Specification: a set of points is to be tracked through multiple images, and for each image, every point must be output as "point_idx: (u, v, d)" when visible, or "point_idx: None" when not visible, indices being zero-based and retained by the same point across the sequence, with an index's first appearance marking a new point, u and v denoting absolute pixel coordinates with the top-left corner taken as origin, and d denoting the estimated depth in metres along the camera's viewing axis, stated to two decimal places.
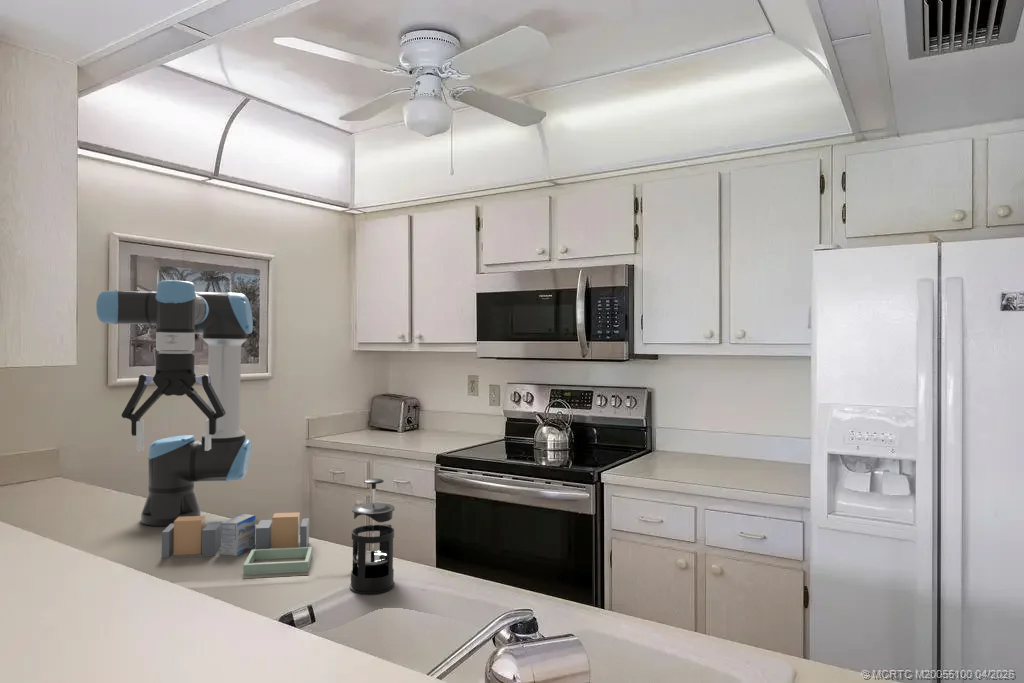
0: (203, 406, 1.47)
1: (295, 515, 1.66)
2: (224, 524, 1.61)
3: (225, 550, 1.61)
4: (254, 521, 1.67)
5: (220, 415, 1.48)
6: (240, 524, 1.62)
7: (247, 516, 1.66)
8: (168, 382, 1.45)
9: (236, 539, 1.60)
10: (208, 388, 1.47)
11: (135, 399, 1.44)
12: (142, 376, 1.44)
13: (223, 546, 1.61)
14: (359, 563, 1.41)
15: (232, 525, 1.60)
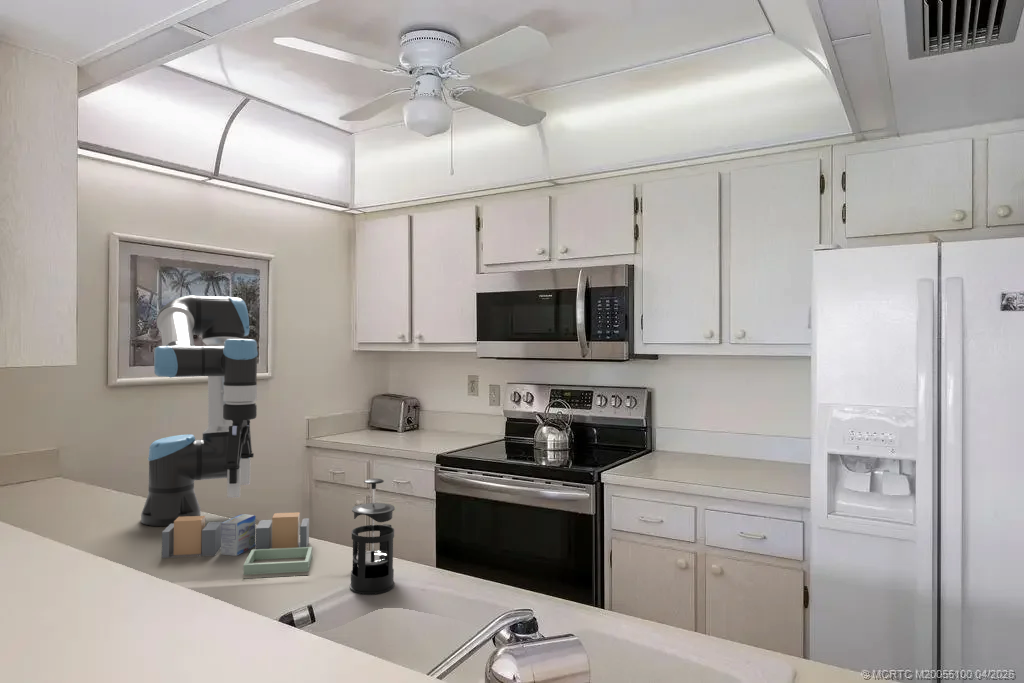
0: None
1: (295, 515, 1.66)
2: (224, 524, 1.61)
3: (225, 550, 1.61)
4: (254, 521, 1.67)
5: None
6: (240, 524, 1.62)
7: (247, 516, 1.66)
8: None
9: (236, 539, 1.60)
10: None
11: None
12: None
13: (223, 546, 1.61)
14: (359, 563, 1.41)
15: (232, 525, 1.60)
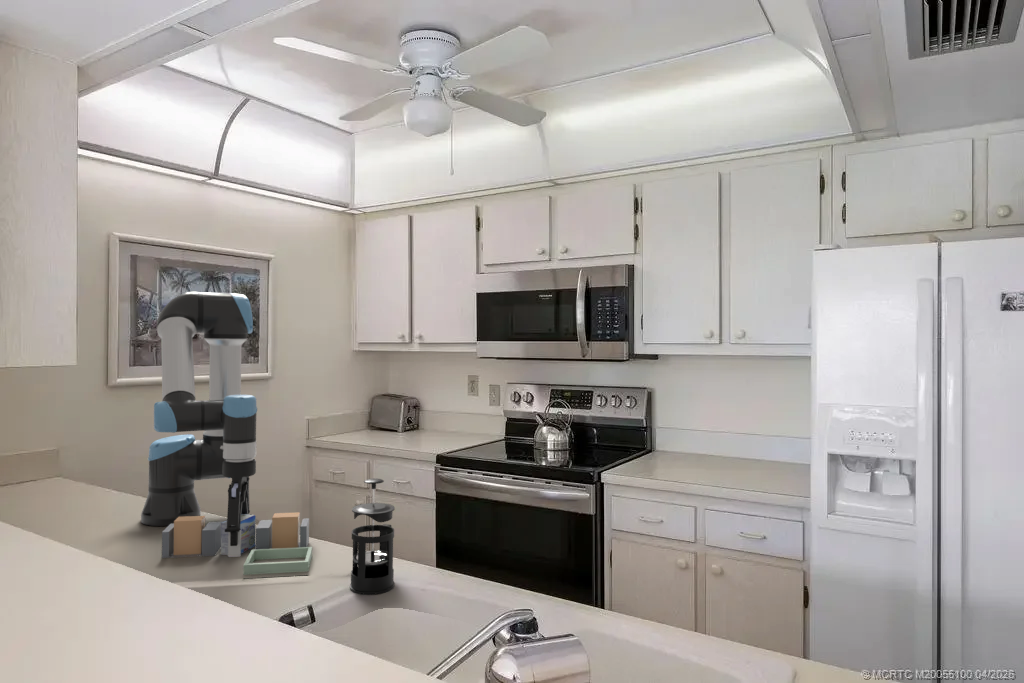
0: None
1: (295, 515, 1.66)
2: (224, 524, 1.61)
3: (225, 549, 1.61)
4: (254, 521, 1.67)
5: None
6: (240, 524, 1.62)
7: (247, 516, 1.66)
8: (231, 484, 1.65)
9: None
10: (228, 501, 1.58)
11: None
12: None
13: (223, 546, 1.61)
14: (359, 563, 1.41)
15: (232, 525, 1.60)
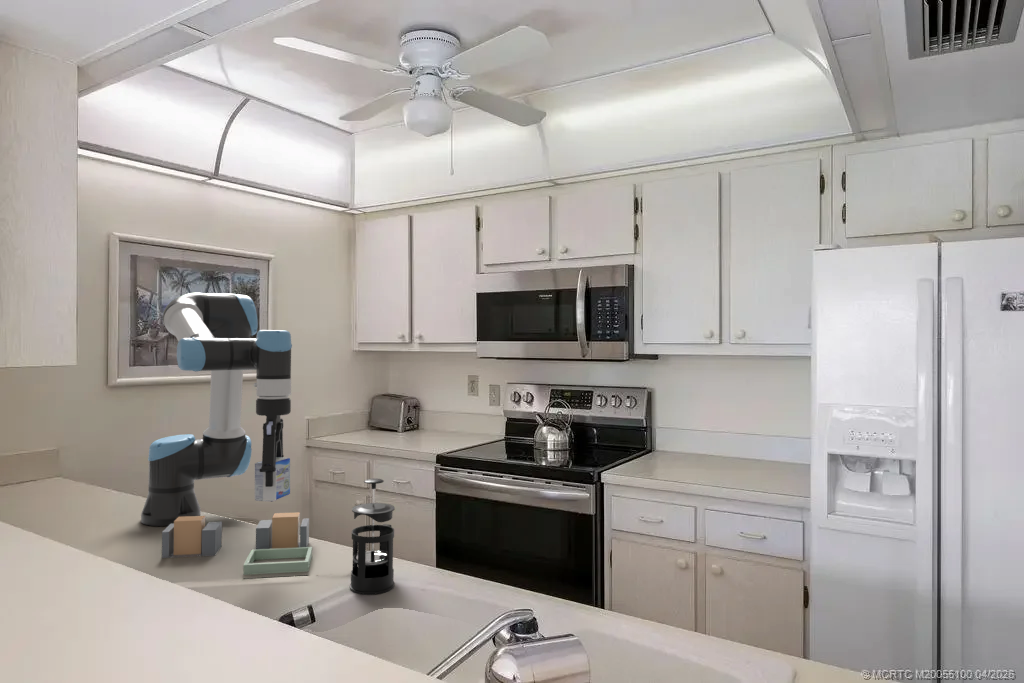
0: None
1: (295, 515, 1.66)
2: (258, 464, 1.52)
3: (259, 491, 1.52)
4: (289, 464, 1.58)
5: None
6: None
7: (281, 458, 1.57)
8: None
9: None
10: (263, 439, 1.49)
11: None
12: None
13: (258, 488, 1.52)
14: (359, 563, 1.41)
15: None
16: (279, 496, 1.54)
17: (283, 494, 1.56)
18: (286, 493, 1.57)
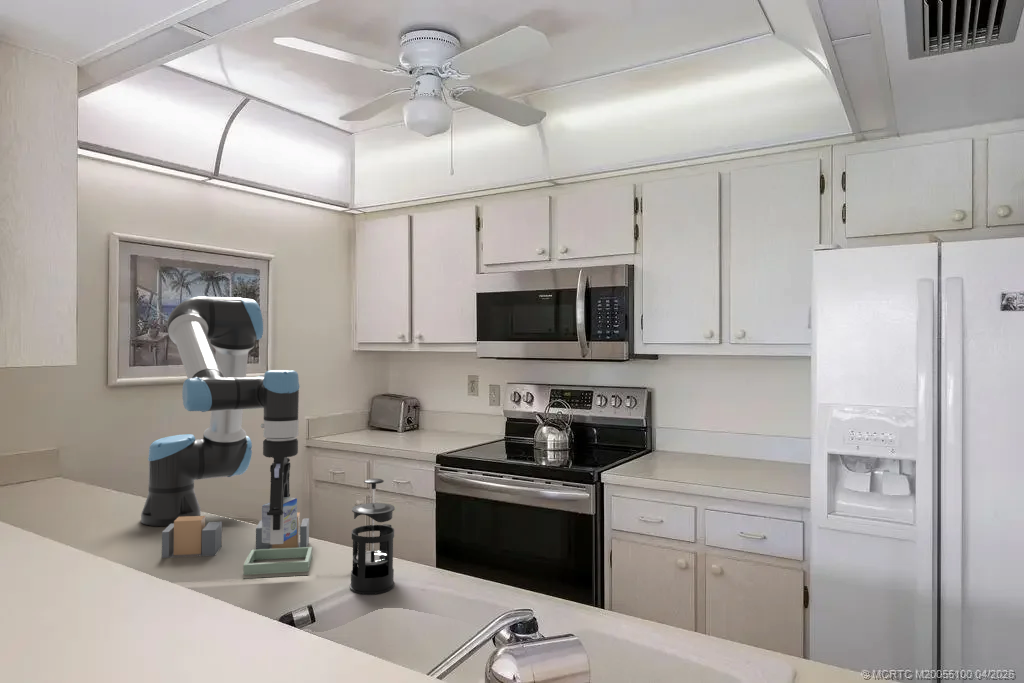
0: None
1: None
2: (266, 507, 1.51)
3: (266, 534, 1.51)
4: (296, 504, 1.57)
5: None
6: None
7: (288, 499, 1.56)
8: (272, 465, 1.55)
9: None
10: None
11: None
12: None
13: (265, 530, 1.51)
14: (359, 563, 1.41)
15: (274, 508, 1.50)
16: (286, 538, 1.53)
17: (290, 535, 1.55)
18: (293, 534, 1.56)
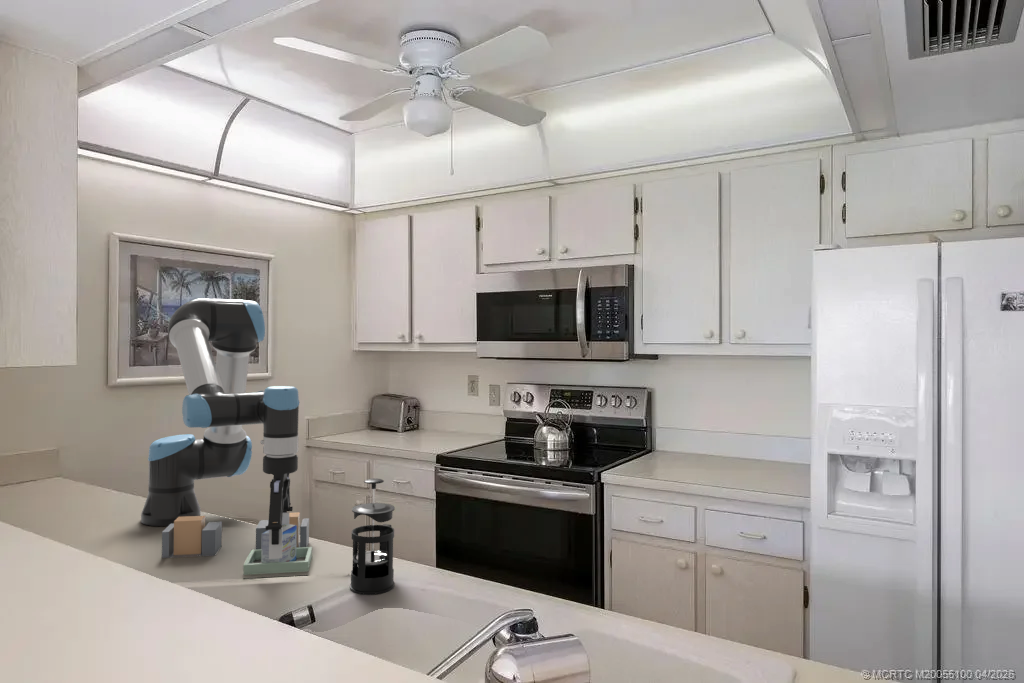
0: None
1: (295, 515, 1.66)
2: (265, 535, 1.51)
3: (266, 562, 1.51)
4: (295, 531, 1.57)
5: None
6: None
7: (288, 526, 1.56)
8: (272, 481, 1.55)
9: None
10: (270, 496, 1.47)
11: None
12: None
13: (264, 558, 1.51)
14: (359, 563, 1.41)
15: None
16: None
17: None
18: None
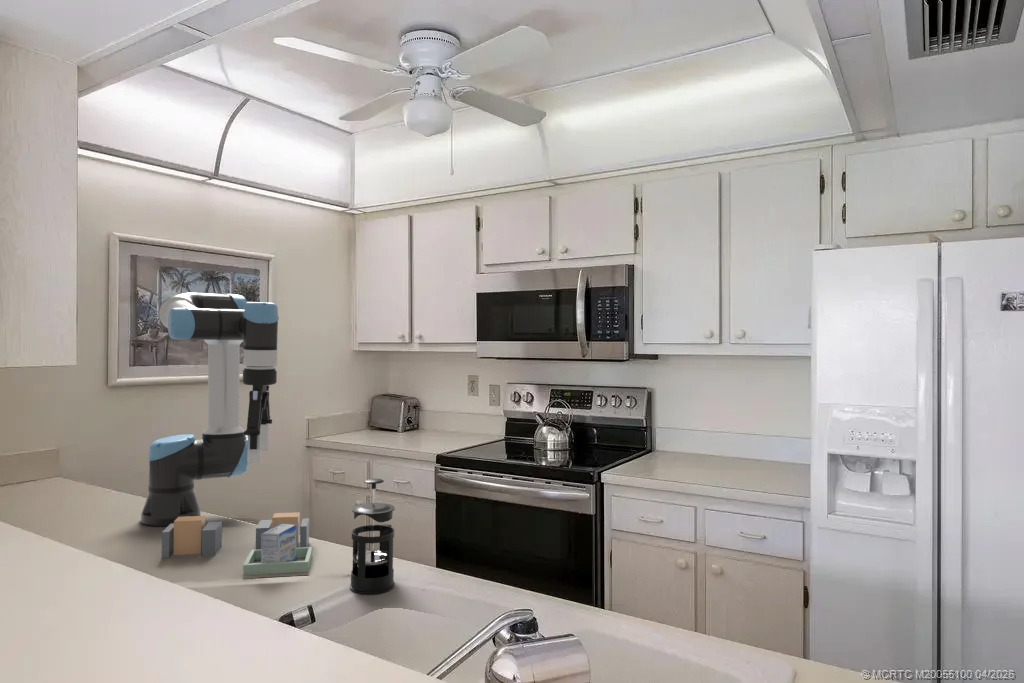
0: None
1: (295, 515, 1.66)
2: (265, 535, 1.51)
3: (265, 562, 1.51)
4: (295, 531, 1.57)
5: None
6: (282, 535, 1.52)
7: (288, 526, 1.56)
8: None
9: (278, 550, 1.50)
10: (249, 404, 1.54)
11: None
12: None
13: (264, 559, 1.51)
14: (359, 563, 1.41)
15: (274, 536, 1.51)
16: None
17: None
18: None
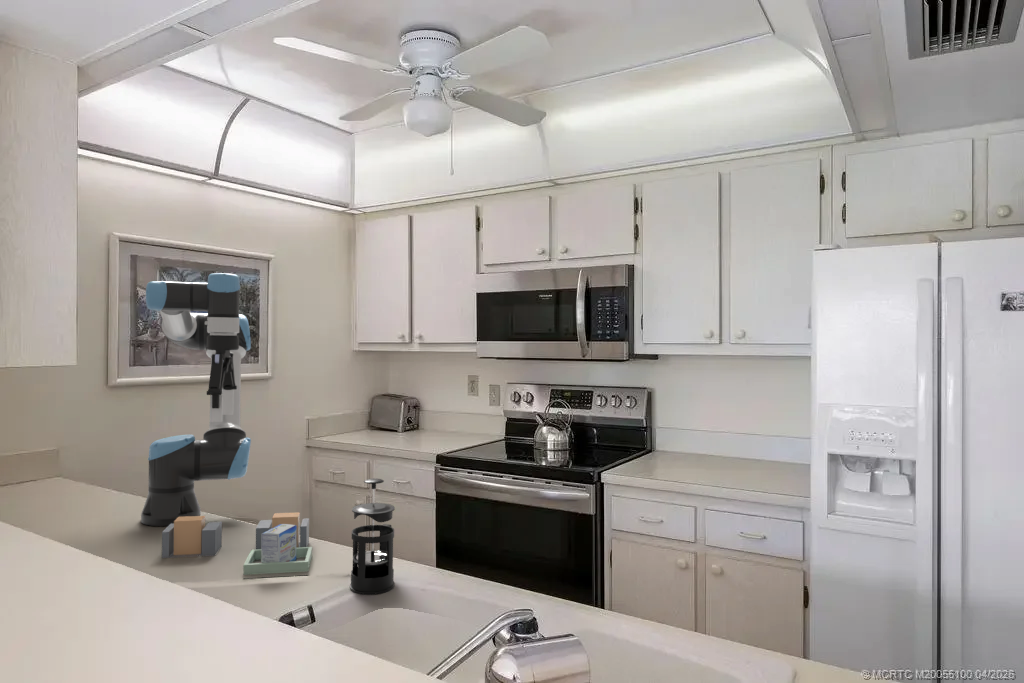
0: None
1: (295, 515, 1.66)
2: (265, 535, 1.51)
3: (265, 562, 1.51)
4: (295, 531, 1.57)
5: None
6: (282, 535, 1.52)
7: (288, 526, 1.56)
8: None
9: (278, 550, 1.50)
10: (211, 366, 1.65)
11: None
12: None
13: (264, 559, 1.51)
14: (359, 563, 1.41)
15: (274, 536, 1.51)
16: None
17: None
18: None
